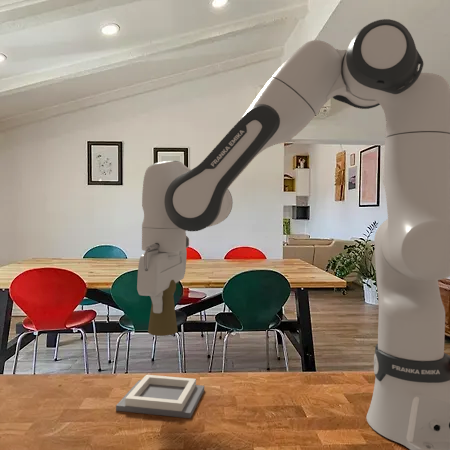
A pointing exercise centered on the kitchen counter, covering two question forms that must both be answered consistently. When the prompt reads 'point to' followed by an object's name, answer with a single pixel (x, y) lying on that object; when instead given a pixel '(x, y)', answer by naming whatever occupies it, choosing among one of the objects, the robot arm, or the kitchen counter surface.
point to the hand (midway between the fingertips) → (163, 308)
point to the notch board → (162, 396)
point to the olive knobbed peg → (164, 315)
